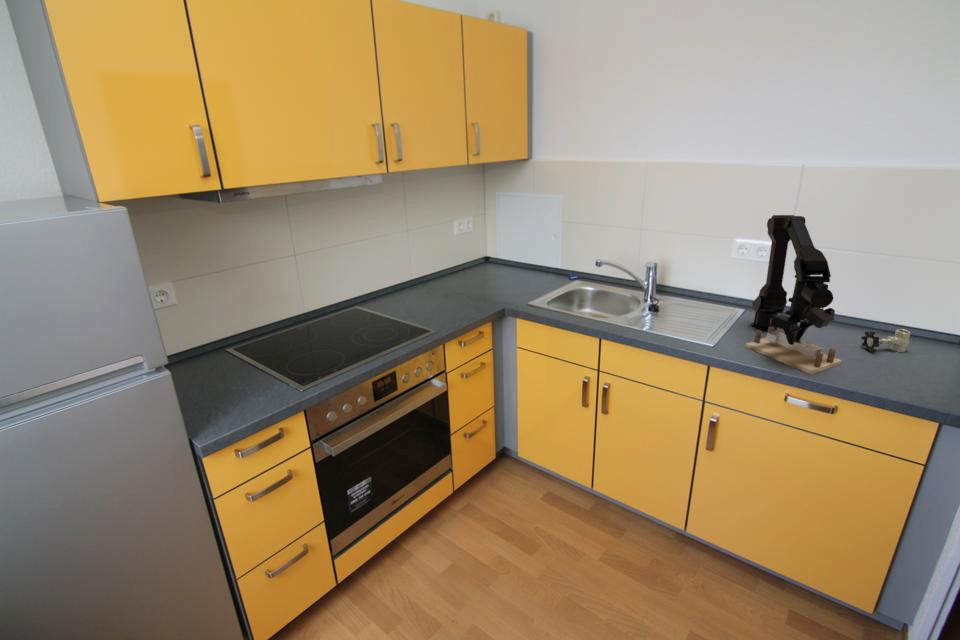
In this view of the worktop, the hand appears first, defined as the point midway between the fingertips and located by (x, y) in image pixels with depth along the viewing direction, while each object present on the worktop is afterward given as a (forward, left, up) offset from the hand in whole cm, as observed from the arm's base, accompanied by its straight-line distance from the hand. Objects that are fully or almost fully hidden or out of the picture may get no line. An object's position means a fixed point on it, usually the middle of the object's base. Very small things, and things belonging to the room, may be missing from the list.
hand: (793, 343), depth 156 cm
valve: (+12, +28, -4) cm, 31 cm away
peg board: (0, 0, -4) cm, 4 cm away
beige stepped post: (0, 0, -1) cm, 1 cm away
